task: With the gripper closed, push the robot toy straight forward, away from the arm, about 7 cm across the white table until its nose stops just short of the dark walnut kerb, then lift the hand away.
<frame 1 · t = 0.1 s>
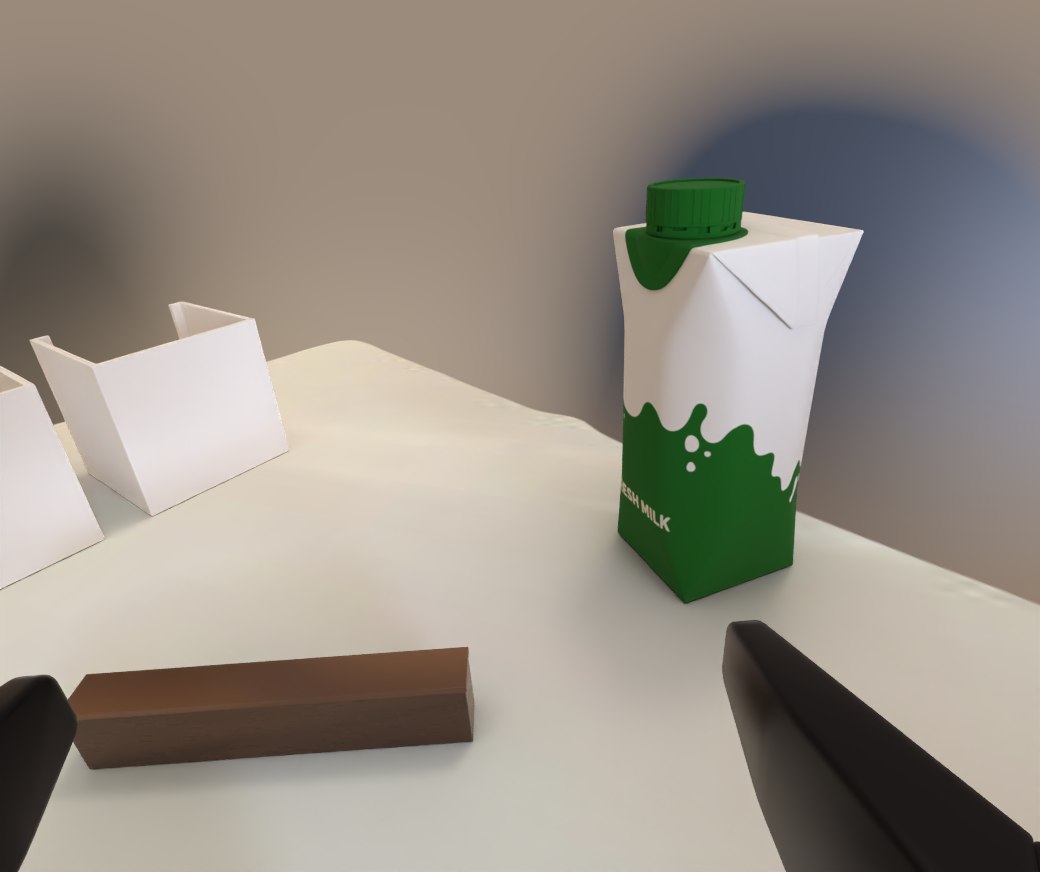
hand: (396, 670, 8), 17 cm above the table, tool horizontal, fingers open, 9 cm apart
walnut kerb: (288, 734, 27), on the table
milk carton: (701, 551, 36), on the table
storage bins: (97, 505, 45), on the table
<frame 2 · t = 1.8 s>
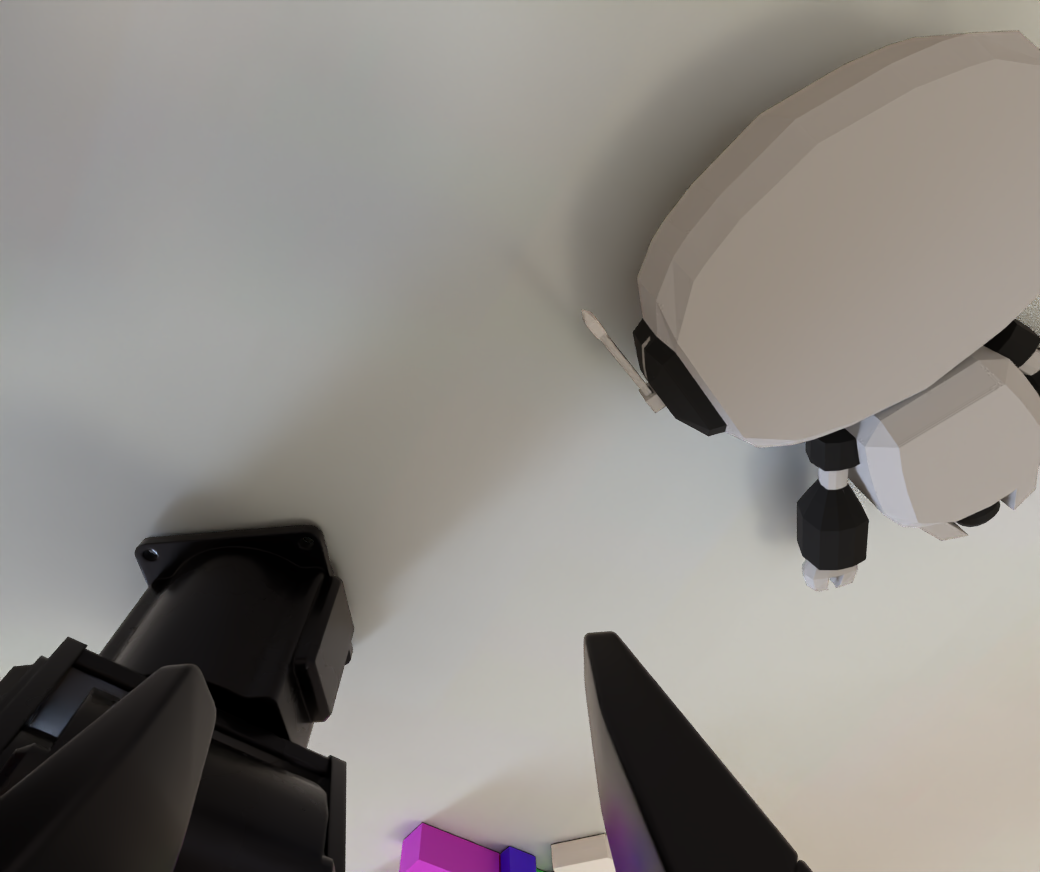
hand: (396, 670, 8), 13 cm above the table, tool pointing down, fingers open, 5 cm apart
robot toy: (842, 324, 20), on the table
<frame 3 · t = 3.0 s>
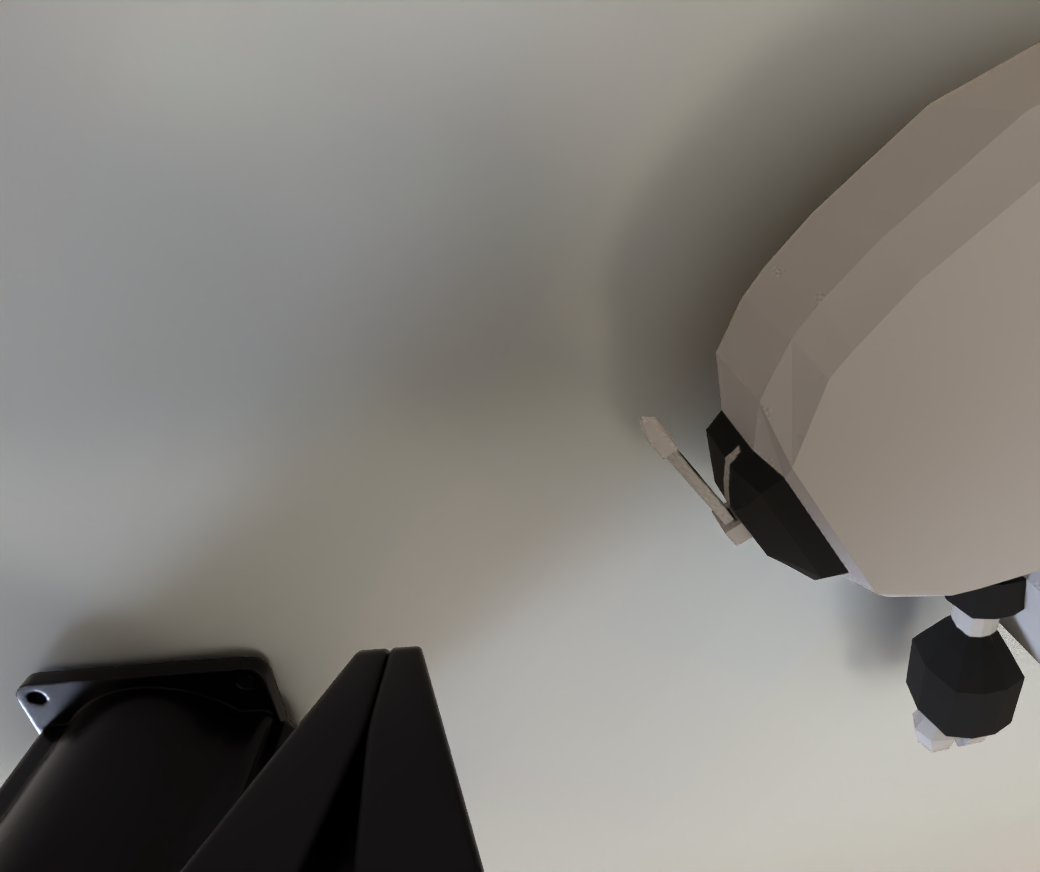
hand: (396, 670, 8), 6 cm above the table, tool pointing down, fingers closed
robot toy: (985, 400, 14), on the table
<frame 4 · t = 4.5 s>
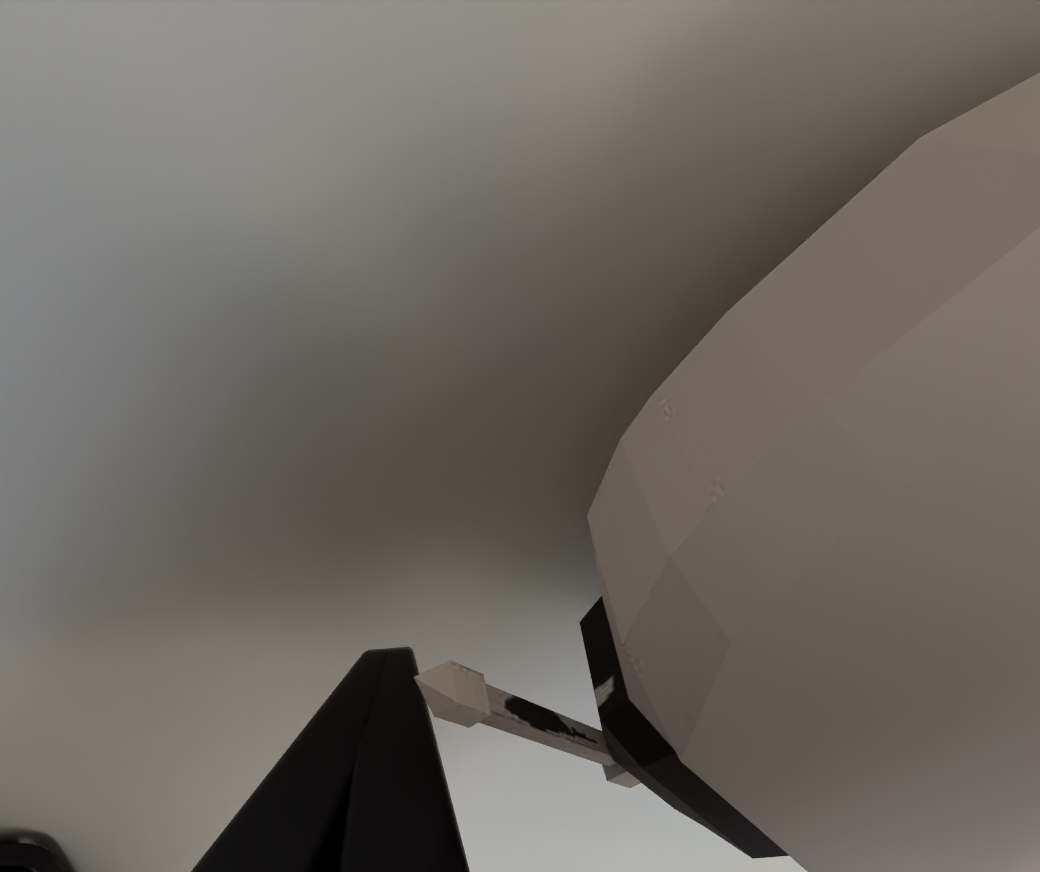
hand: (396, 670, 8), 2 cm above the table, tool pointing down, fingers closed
robot toy: (1001, 535, 10), on the table, touching gripper
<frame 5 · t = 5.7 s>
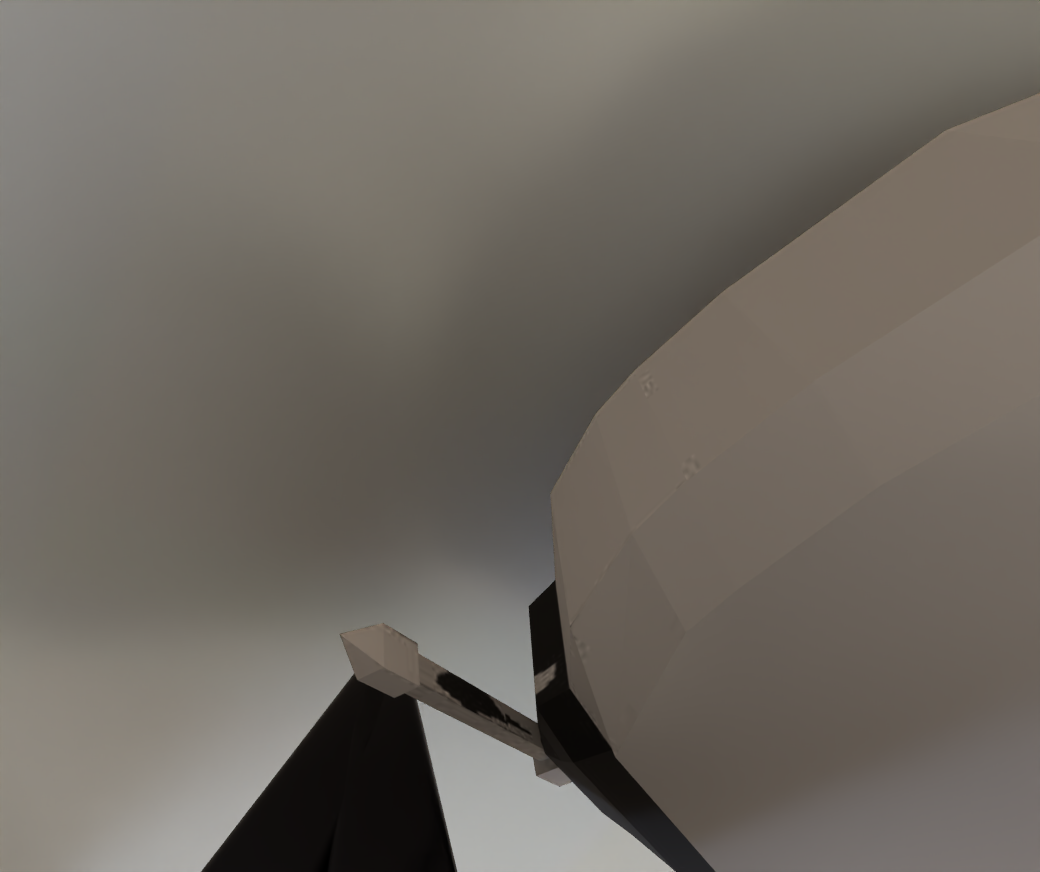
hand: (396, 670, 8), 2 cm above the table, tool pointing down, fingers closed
robot toy: (964, 574, 10), on the table, touching gripper
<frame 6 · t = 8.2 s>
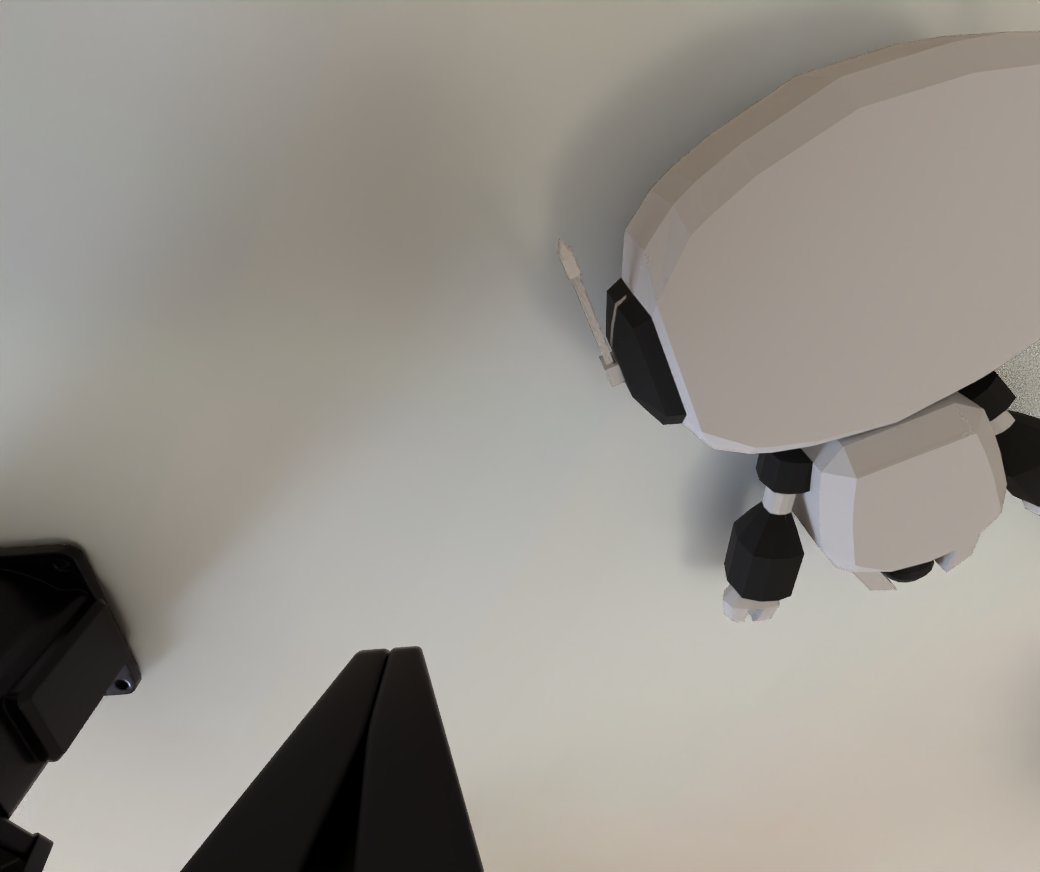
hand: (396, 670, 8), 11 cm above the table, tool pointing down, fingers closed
robot toy: (819, 344, 19), on the table
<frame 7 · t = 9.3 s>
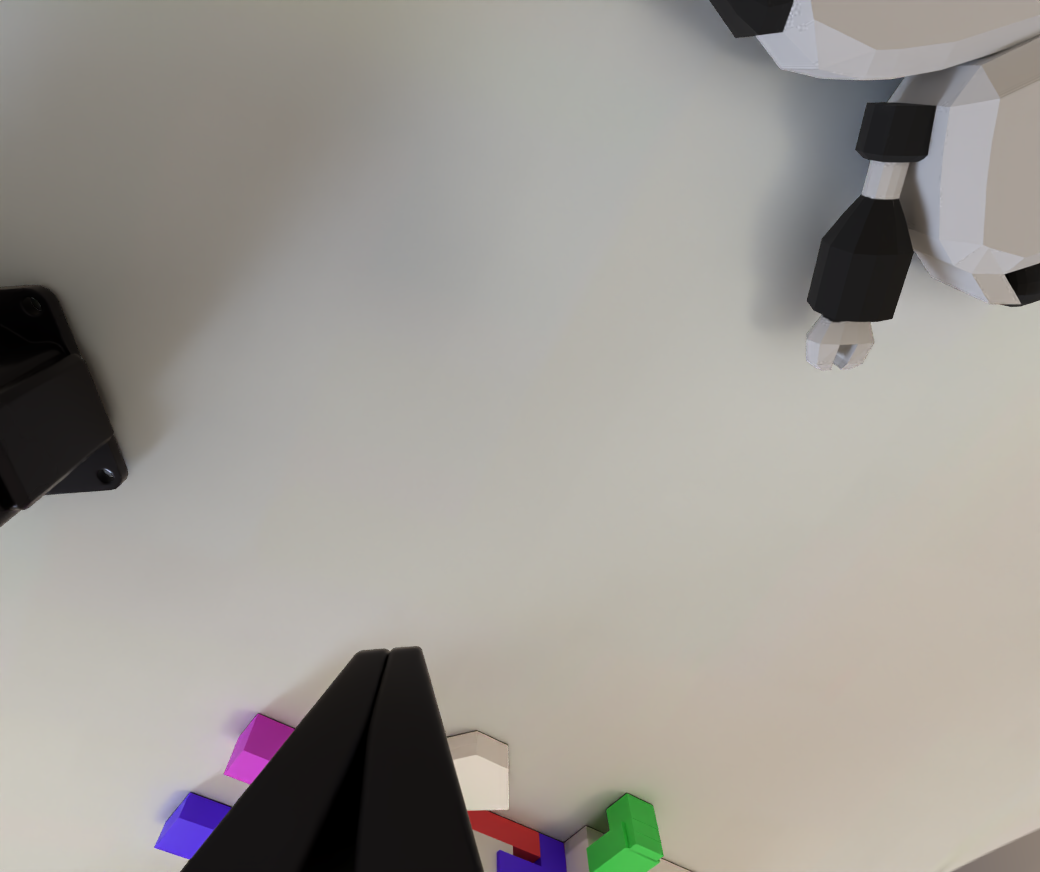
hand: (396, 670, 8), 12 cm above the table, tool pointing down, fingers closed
building block set: (432, 868, 31), on the table
robot toy: (926, 11, 16), on the table
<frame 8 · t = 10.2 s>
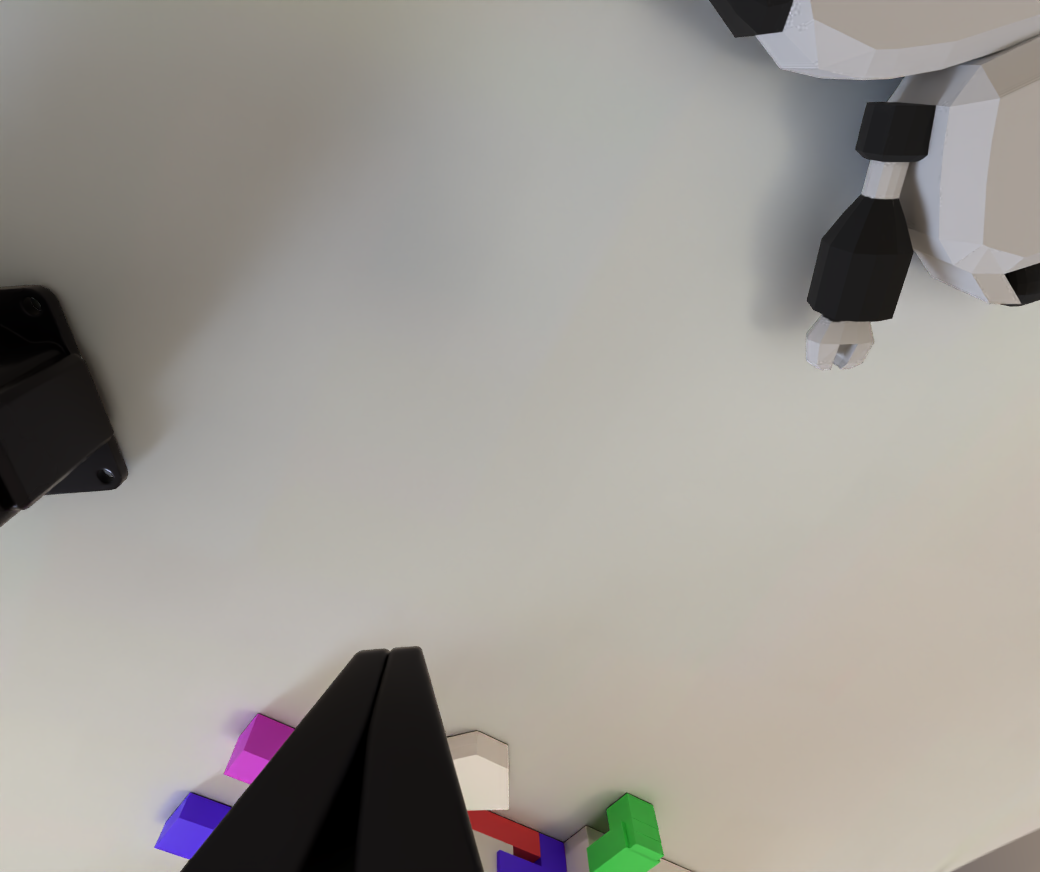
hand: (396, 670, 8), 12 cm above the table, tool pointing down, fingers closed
building block set: (433, 868, 31), on the table
robot toy: (926, 11, 16), on the table
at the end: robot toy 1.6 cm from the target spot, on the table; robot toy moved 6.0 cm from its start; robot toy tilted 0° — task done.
